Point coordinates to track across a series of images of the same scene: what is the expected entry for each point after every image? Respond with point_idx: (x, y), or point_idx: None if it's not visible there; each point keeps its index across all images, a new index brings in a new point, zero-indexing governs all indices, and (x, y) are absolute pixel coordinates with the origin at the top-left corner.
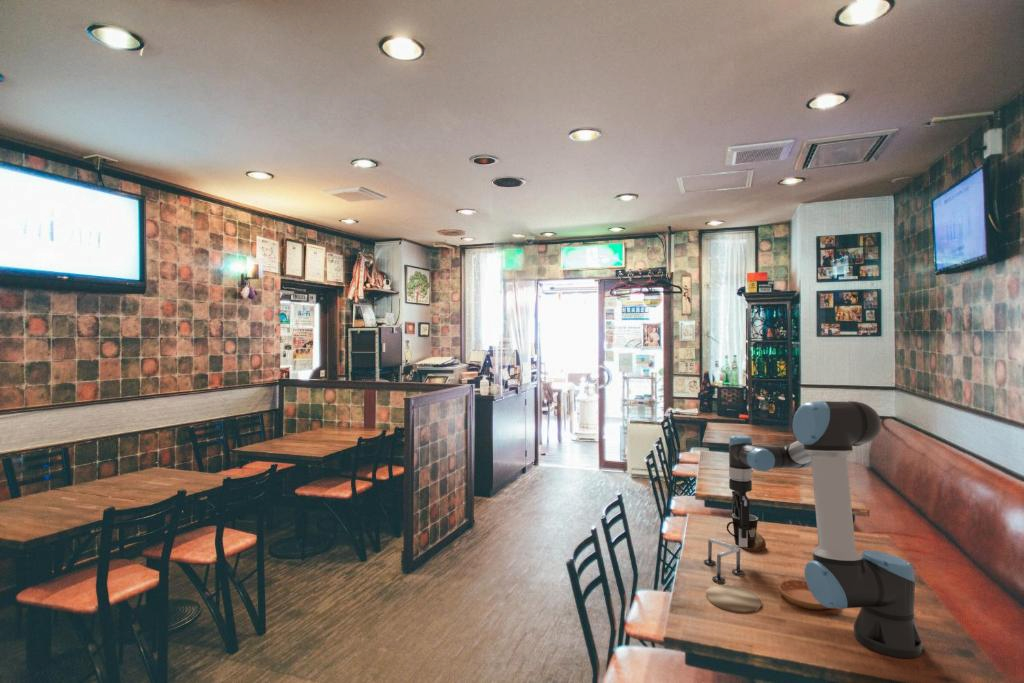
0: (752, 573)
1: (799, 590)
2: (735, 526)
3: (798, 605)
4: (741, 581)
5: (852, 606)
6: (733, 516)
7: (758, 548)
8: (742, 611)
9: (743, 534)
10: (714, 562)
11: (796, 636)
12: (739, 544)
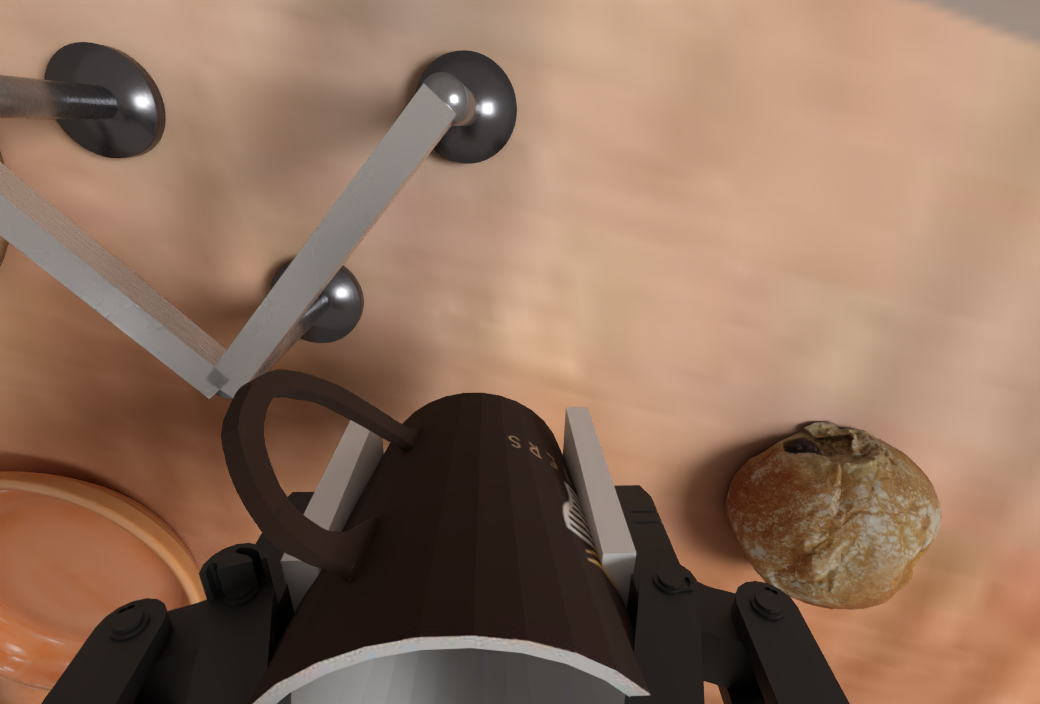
0: (350, 391)
1: (151, 565)
2: (355, 527)
3: None
4: (178, 285)
5: None
6: (566, 632)
7: (732, 528)
8: None
9: (264, 540)
10: (455, 150)
11: None
12: (349, 422)
